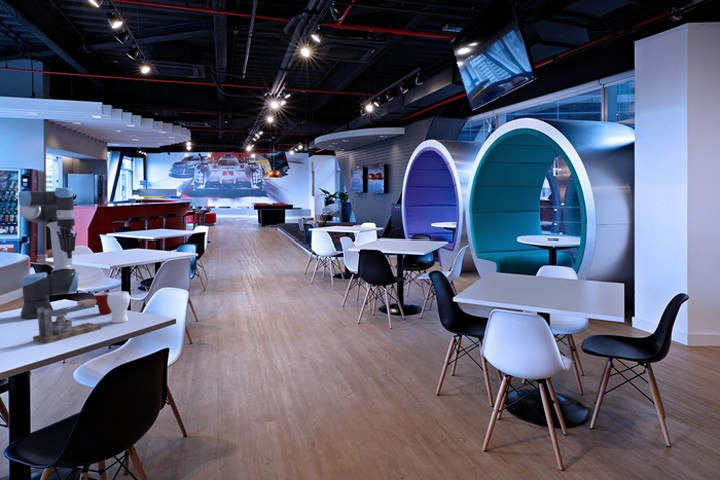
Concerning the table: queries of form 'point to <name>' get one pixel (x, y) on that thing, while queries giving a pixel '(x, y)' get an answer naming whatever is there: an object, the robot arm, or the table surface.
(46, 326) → the press base
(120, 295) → the cup
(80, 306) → the lever
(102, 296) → the plastic cup
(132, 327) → the table surface
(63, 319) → the walnut
